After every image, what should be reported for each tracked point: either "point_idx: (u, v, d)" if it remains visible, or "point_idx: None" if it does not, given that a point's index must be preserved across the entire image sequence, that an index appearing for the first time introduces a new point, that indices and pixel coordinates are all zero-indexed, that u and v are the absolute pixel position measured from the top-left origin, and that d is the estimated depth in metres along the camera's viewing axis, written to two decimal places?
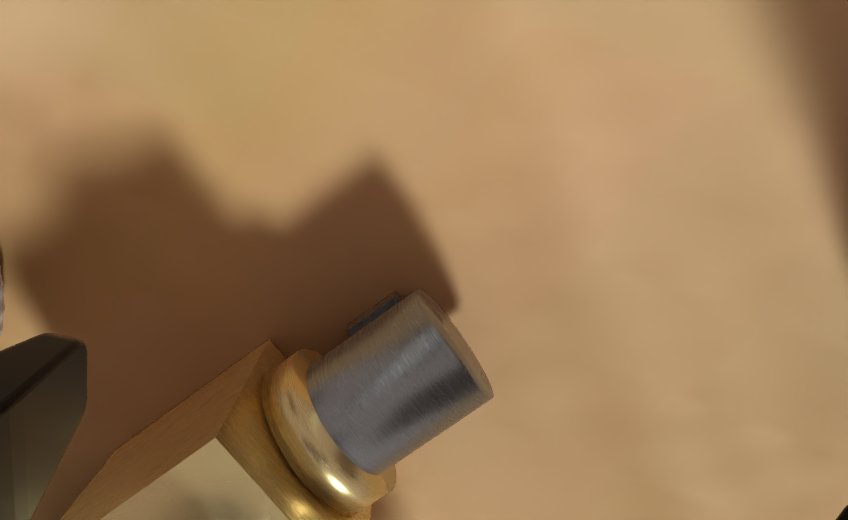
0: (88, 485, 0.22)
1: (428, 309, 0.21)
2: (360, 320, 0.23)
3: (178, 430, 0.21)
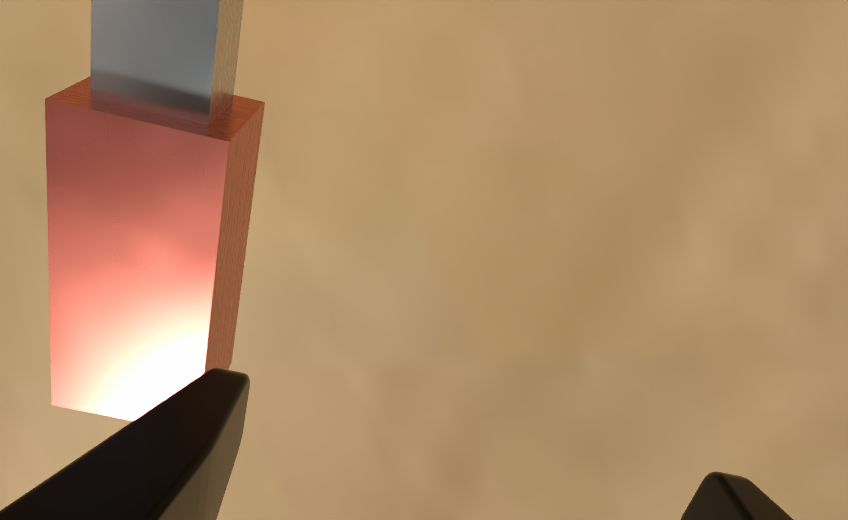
0: None
1: None
2: None
3: None
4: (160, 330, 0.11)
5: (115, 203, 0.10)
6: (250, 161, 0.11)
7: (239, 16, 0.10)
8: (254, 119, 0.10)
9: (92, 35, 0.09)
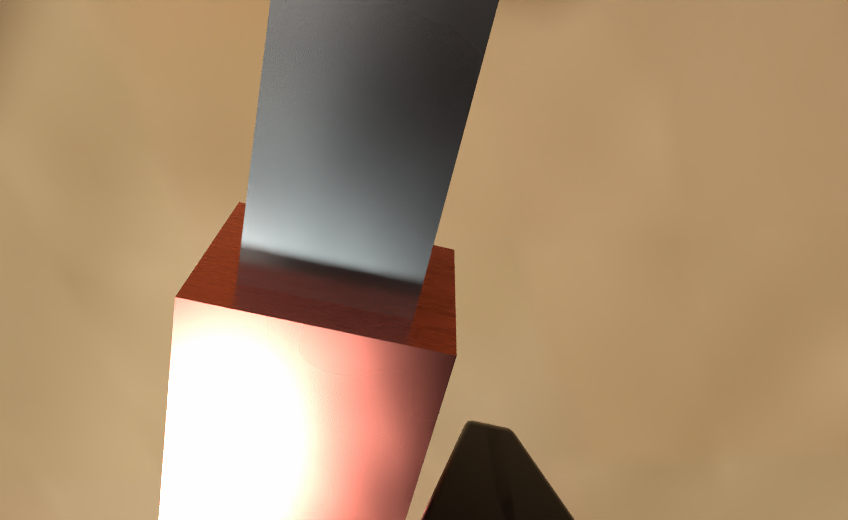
0: None
1: None
2: None
3: None
4: None
5: (268, 434, 0.06)
6: None
7: None
8: None
9: (248, 196, 0.06)
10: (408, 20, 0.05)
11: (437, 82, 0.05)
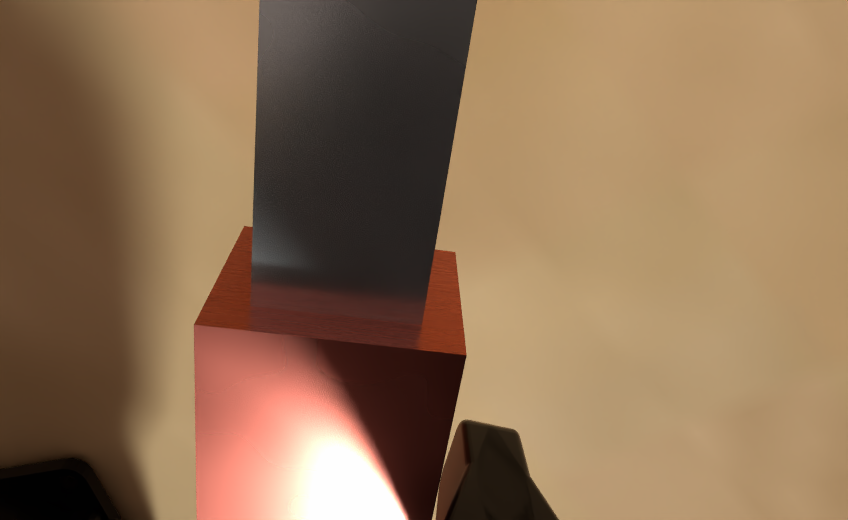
0: None
1: None
2: None
3: None
4: None
5: (294, 446, 0.07)
6: None
7: None
8: None
9: (254, 222, 0.06)
10: (390, 43, 0.05)
11: (423, 98, 0.06)
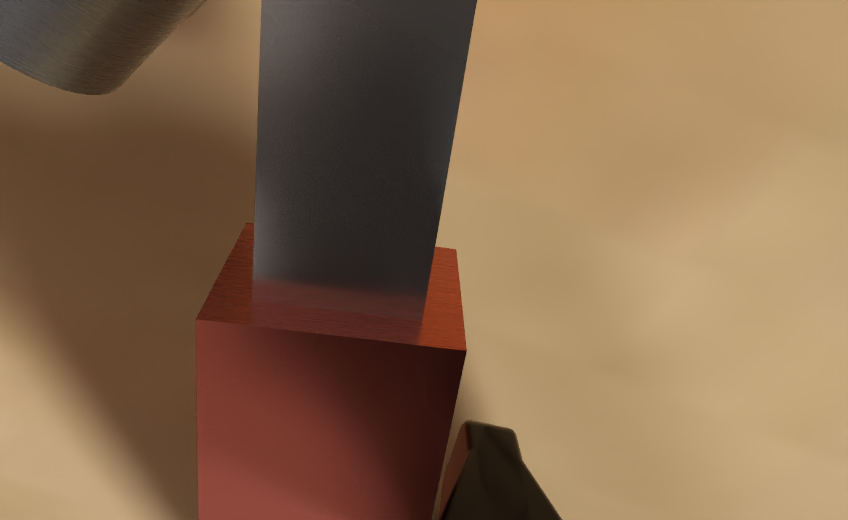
0: None
1: None
2: None
3: None
4: None
5: (295, 441, 0.07)
6: None
7: None
8: None
9: (256, 218, 0.06)
10: (391, 39, 0.05)
11: (424, 94, 0.06)
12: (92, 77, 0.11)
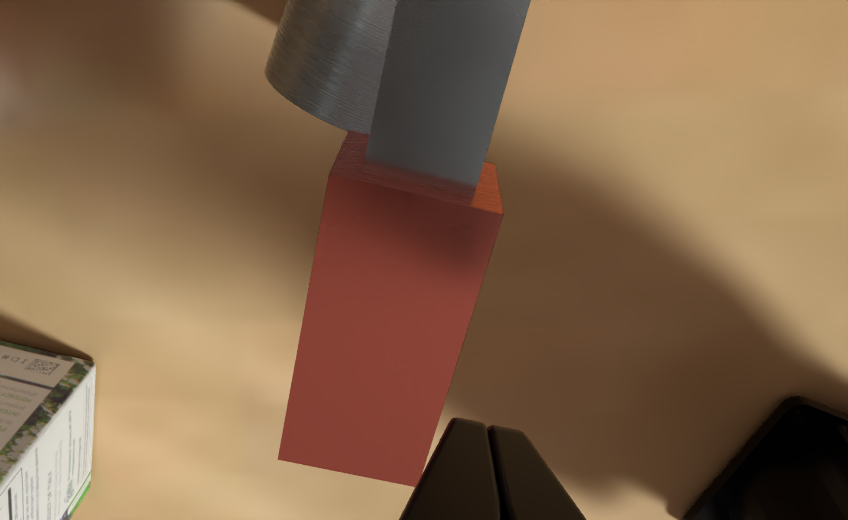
0: None
1: None
2: None
3: None
4: (400, 390, 0.11)
5: (379, 271, 0.10)
6: None
7: None
8: None
9: (374, 111, 0.09)
10: (480, 0, 0.09)
11: (495, 38, 0.09)
12: None
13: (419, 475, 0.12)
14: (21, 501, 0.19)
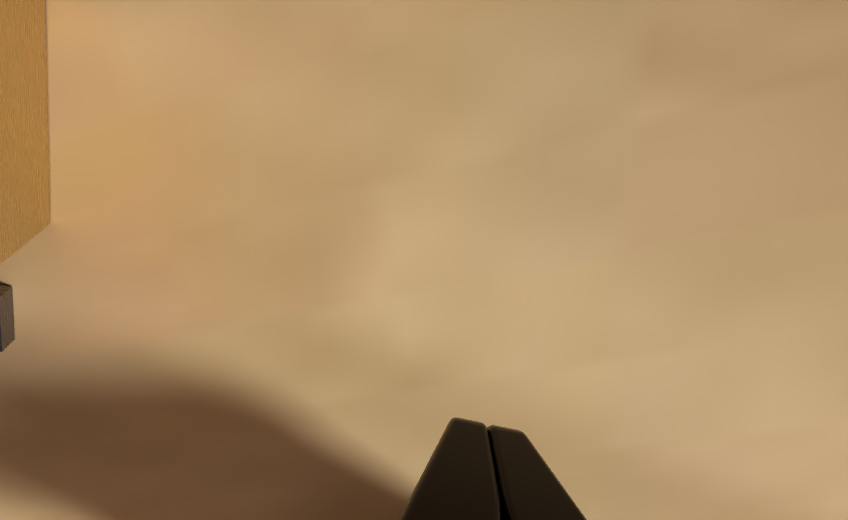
0: None
1: None
2: None
3: None
4: None
5: None
6: None
7: None
8: None
9: None
10: None
11: None
12: None
13: None
14: None
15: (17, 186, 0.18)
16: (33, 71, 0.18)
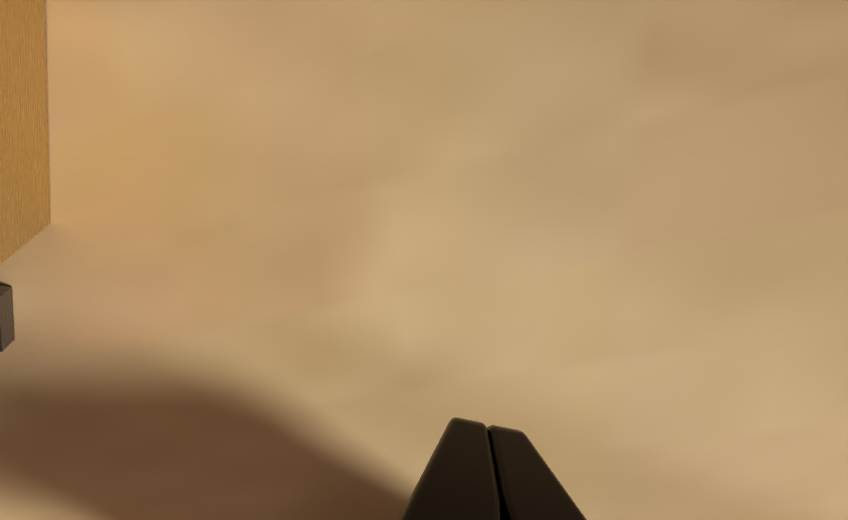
0: None
1: None
2: None
3: None
4: None
5: None
6: None
7: None
8: None
9: None
10: None
11: None
12: None
13: None
14: None
15: (16, 187, 0.18)
16: (33, 72, 0.18)
